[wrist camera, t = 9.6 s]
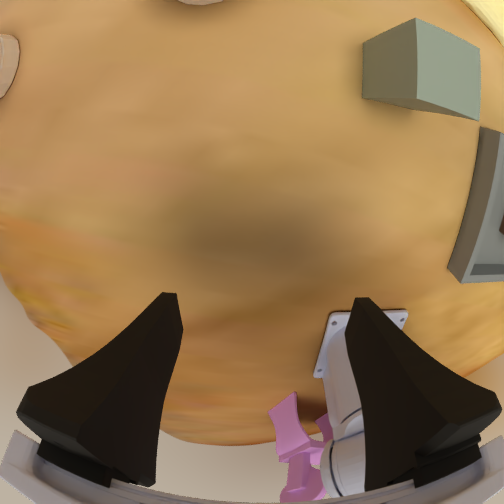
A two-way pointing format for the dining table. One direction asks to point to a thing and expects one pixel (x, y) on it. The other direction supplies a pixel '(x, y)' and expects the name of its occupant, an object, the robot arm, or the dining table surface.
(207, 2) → the shot glass
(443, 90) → the tall block
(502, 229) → the short block
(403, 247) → the dining table surface
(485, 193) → the tray
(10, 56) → the white cup
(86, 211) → the dining table surface
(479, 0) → the cloth
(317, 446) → the toy chair
